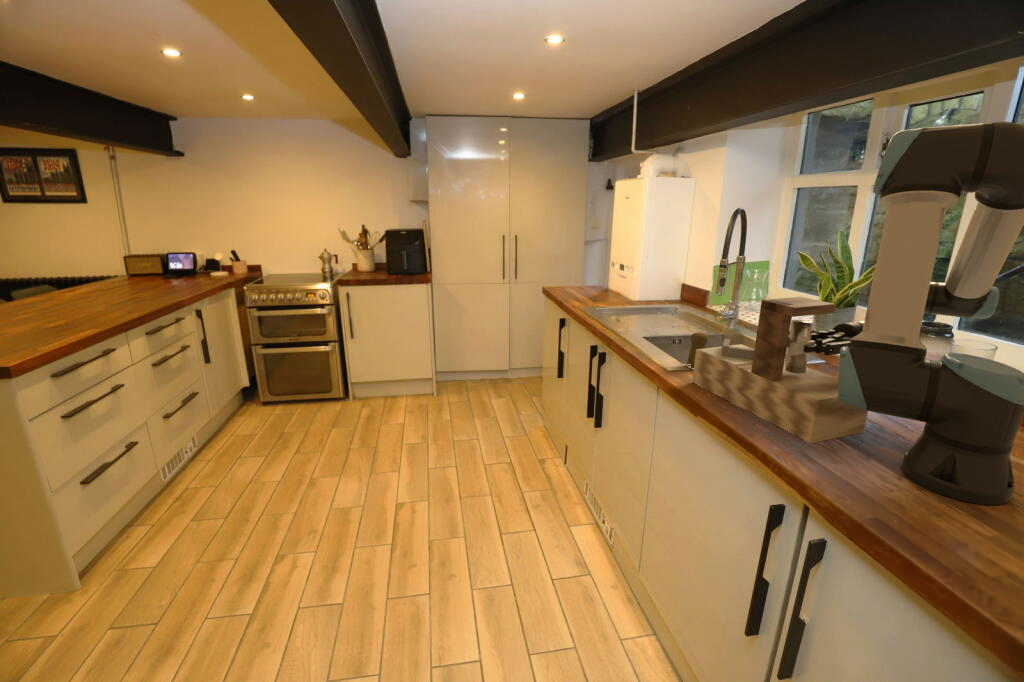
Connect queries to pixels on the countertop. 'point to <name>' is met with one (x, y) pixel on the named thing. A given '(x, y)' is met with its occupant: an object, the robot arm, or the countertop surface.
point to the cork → (696, 346)
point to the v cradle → (731, 353)
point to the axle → (798, 333)
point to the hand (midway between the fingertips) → (781, 346)
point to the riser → (783, 398)
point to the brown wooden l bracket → (780, 332)
